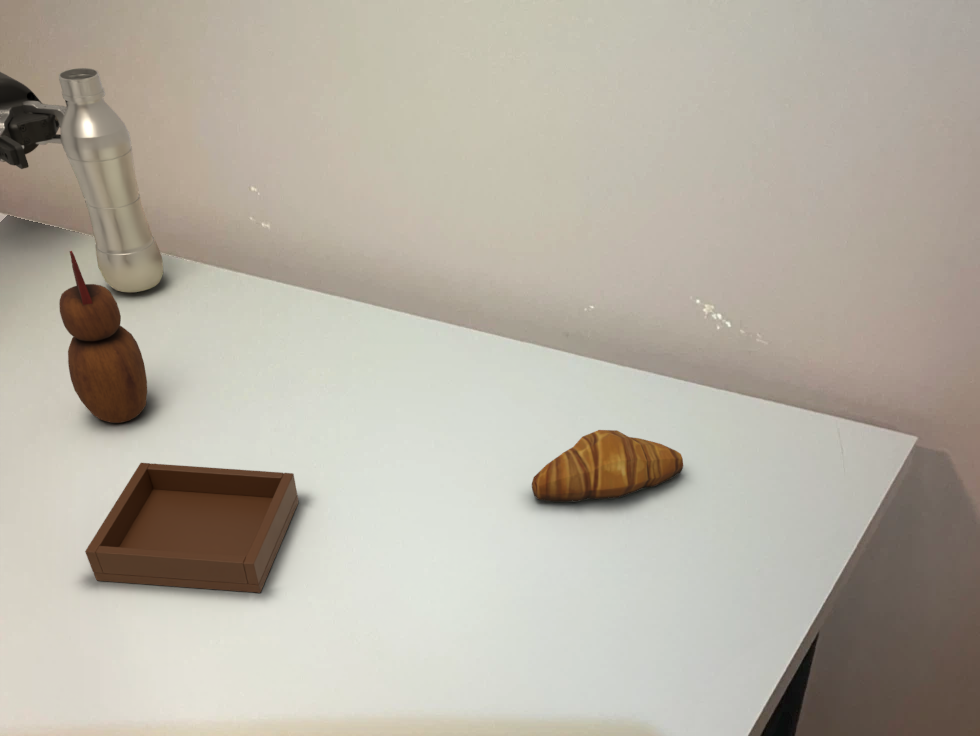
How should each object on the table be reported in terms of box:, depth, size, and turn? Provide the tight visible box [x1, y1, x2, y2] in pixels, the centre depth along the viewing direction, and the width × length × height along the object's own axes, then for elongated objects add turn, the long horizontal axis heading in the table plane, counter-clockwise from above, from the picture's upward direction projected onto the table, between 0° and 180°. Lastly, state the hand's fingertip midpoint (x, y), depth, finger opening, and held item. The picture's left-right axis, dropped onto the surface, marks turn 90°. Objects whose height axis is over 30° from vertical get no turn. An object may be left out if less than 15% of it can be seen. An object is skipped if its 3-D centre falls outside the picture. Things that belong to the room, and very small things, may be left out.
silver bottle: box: [58, 67, 164, 293], centre depth 102 cm, size 6×7×20 cm
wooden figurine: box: [58, 250, 148, 424], centre depth 87 cm, size 7×6×15 cm
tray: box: [84, 462, 300, 594], centre depth 79 cm, size 13×12×3 cm
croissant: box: [531, 429, 684, 503], centre depth 84 cm, size 14×7×5 cm, turn 109°
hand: (62, 148), depth 105 cm, fingers open, 8 cm apart
